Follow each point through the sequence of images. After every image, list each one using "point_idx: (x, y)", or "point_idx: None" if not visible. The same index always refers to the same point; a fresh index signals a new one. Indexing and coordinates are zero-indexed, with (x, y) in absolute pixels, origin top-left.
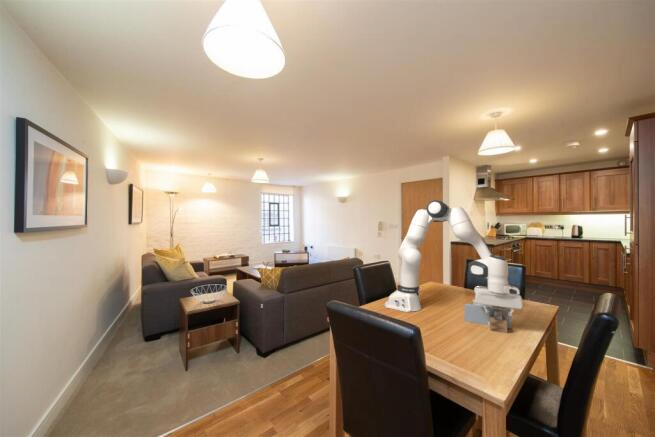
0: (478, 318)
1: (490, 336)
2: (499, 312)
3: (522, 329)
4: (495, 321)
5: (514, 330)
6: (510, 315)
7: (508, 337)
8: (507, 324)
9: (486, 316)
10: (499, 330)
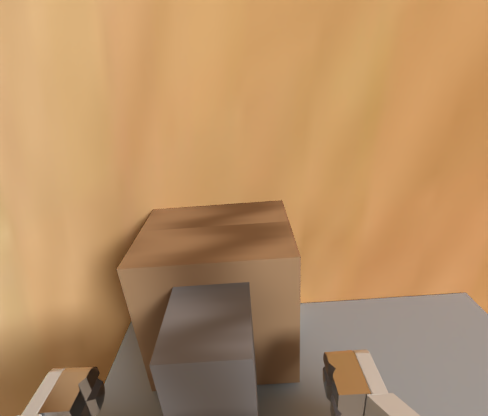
0: (378, 332)
1: (291, 45)
2: (187, 399)
3: (66, 333)
4: (242, 254)
5: (110, 292)
6: (51, 381)
7: (136, 117)
8: None
9: (319, 363)
10: (210, 211)
